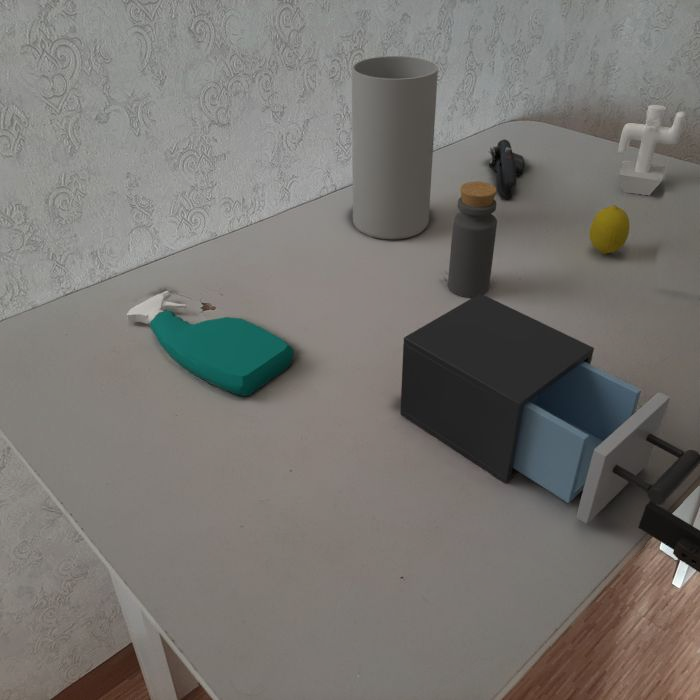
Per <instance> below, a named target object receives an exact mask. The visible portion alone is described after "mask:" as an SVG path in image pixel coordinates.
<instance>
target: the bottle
mask: <svg viewBox="0 0 700 700" xmlns="http://www.w3.org/2000/svg"><path fill="white" fill-rule="evenodd" d="M459 190H460V197H459V198H458V200H457V205H456V206H457V209H458V211H459V212H457V214H455V215H454V217H453V220H452V221H453V222H452V231H451V241H450V242H451V243H450V256H449V266H448V279H447V287H448V290H449V291H450V292H451V293H453V294H455V295H457V296H459V297H464V298H473V297H475V296H476V295H478V294H483V295H485V294H487V293H488V291H489V288H490V282H491V276H492V268H493V260H494V252H495V251H494V250H495V244H496V235H497V226H498V220H497V218H496V216H495V215H494V213H495V211H496V210H497V204H498V203H497V200H496V199H495V197H496V195H497V191H498V188H496V186H494V184H491V183H489V182H484V181H469V182H466V183H463V184H462V185H461V186H460V188H459Z"/></svg>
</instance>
